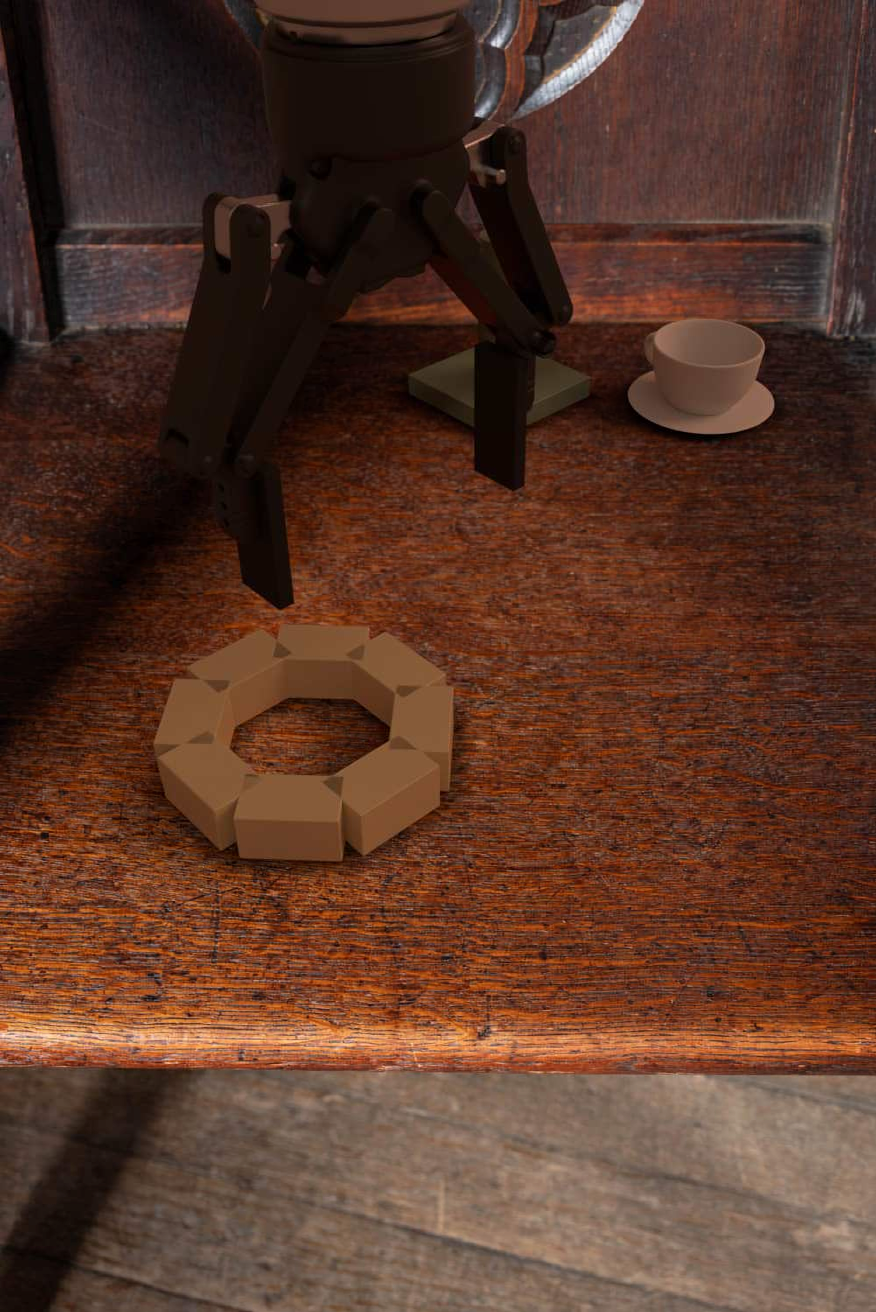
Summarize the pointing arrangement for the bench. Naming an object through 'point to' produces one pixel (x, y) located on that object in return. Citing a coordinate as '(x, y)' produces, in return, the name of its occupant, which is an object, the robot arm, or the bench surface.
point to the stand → (454, 376)
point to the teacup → (703, 378)
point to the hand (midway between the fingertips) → (390, 533)
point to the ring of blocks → (306, 806)
